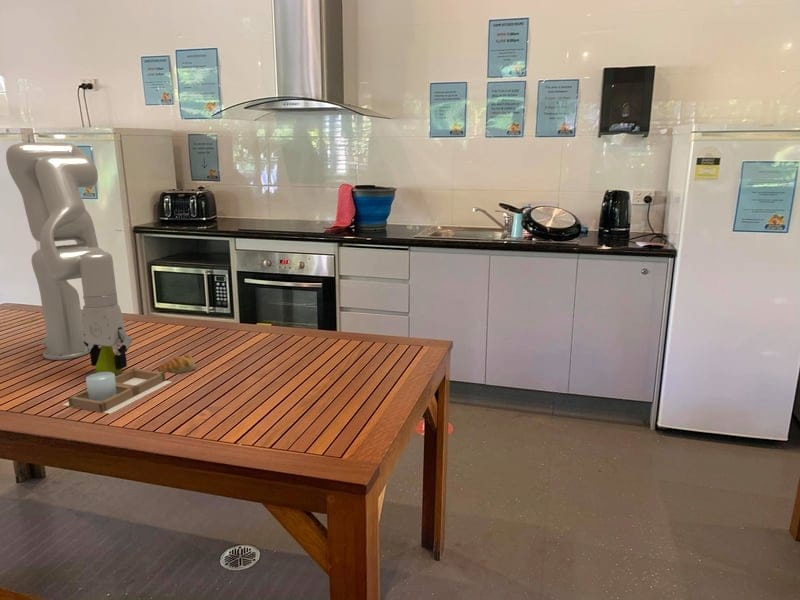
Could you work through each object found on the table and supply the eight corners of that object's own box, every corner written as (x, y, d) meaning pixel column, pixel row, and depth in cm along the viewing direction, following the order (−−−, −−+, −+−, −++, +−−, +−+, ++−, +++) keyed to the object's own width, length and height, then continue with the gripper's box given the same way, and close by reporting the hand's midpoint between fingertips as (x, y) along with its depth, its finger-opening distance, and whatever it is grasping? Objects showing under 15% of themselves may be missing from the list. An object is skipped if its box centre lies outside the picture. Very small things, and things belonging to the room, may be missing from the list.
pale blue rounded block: (83, 403, 137) (79, 379, 136) (103, 394, 143) (100, 370, 141) (103, 407, 135) (100, 382, 134) (123, 397, 141) (120, 373, 139)
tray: (63, 409, 137) (61, 396, 136) (128, 379, 155) (127, 367, 154) (110, 418, 132) (109, 405, 132) (172, 386, 151) (171, 374, 150)
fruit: (106, 384, 152) (100, 339, 149) (92, 379, 155) (86, 335, 152) (129, 376, 157) (124, 333, 154) (114, 372, 160) (109, 329, 157)
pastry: (163, 379, 156) (161, 365, 155) (153, 372, 161) (152, 358, 160) (197, 370, 162) (196, 357, 161) (187, 364, 167) (186, 351, 166)
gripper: (62, 301, 150) (71, 367, 154) (116, 307, 145) (124, 375, 149) (86, 294, 157) (95, 357, 161) (139, 300, 151) (146, 365, 156)
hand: (109, 365), depth 155 cm, fingers open, 7 cm apart
